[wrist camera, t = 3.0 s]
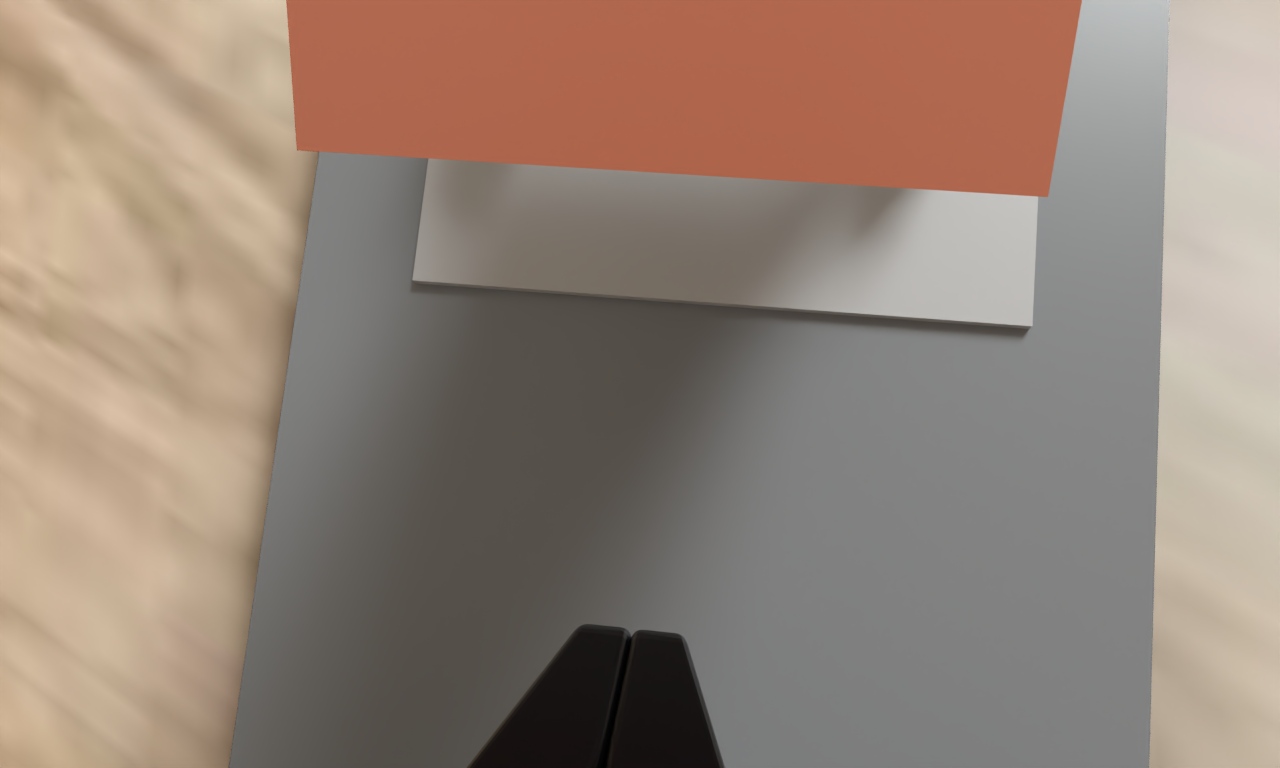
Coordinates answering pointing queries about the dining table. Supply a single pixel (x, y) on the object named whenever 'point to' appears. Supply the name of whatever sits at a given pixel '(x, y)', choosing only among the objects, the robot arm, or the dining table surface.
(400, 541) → the switch panel
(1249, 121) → the dining table surface
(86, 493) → the dining table surface
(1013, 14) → the switch lever
